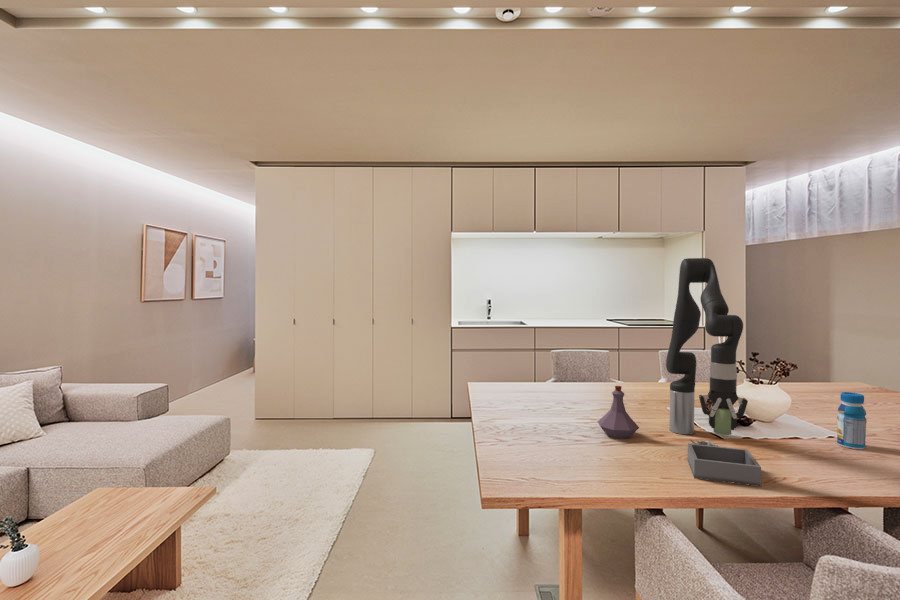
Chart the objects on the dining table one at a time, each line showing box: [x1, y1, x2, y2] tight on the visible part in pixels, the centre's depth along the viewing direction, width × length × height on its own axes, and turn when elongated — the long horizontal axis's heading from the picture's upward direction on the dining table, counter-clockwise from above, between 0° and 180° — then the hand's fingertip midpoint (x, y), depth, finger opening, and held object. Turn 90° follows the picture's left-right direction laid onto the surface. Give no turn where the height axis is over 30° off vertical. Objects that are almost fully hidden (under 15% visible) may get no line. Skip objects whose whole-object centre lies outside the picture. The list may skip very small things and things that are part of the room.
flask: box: [597, 385, 640, 440], centre depth 189 cm, size 16×16×20 cm
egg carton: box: [689, 438, 721, 447], centre depth 169 cm, size 11×8×4 cm
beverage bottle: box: [836, 391, 867, 450], centre depth 175 cm, size 8×8×20 cm
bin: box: [687, 442, 762, 487], centre depth 151 cm, size 16×18×6 cm
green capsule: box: [712, 408, 732, 436], centre depth 151 cm, size 5×5×8 cm
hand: (722, 428), depth 151 cm, fingers closed on green capsule, 5 cm apart
